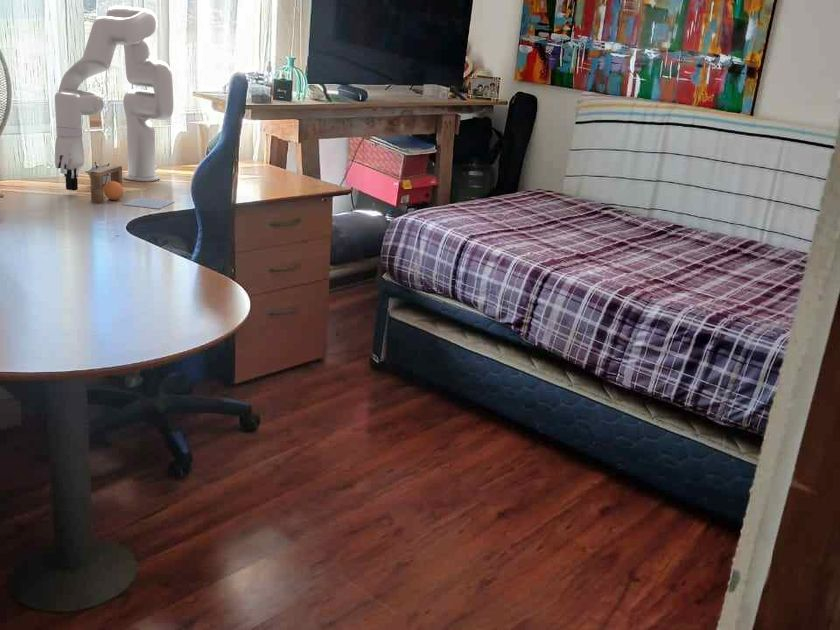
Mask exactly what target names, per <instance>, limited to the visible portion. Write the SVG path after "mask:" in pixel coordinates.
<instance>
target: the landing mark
mask: <svg viewBox="0 0 840 630" xmlns="http://www.w3.org/2000/svg"><path fill="white" fill-rule="evenodd" d="M174 203H175V201H171V200H164V199H162V200H161V199H154V198H147V197H138V198H135V199H133V200H130V201H127V202H125V203H123V204H122V205H123V206H128V205H130V207H136V206H137V208H146V209H153V210H154V209H155V210H160V209H161V210H162V209H163V208H165V207H167V206H170V205H171V204H174ZM122 205H121V206H122Z"/></svg>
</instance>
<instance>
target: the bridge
mask: <svg viewBox="0 0 840 630" xmlns="http://www.w3.org/2000/svg"><path fill="white" fill-rule="evenodd" d="M109 173H111V180H110V182H111V181H115V182H118V183H119V184H121V186H122V187H123V166H122V165H118V164H117V165H116V164H112V165H109V166H108V167H104V168H101V169H97V170H94V171H90V177H89V179H90V201H91V203H94V202H96V204H102V202H103V203H104V191H103V190H104V185H103V175H106V174H109Z"/></svg>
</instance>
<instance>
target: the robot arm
mask: <svg viewBox="0 0 840 630" xmlns="http://www.w3.org/2000/svg"><path fill="white" fill-rule="evenodd" d="M157 28H158V19H157V16H156V14H155V13H154V12H153V11H152V10H150V9H147V8H142V7H134V6H125V5H113V6H110V7H109V8H108V9H107V10H106V13H105V15H104V16H97V17H96V19H94V21H93V23H92V26H91V29H90V32H89V36H88V38H87V39H88V40H87V42H86V45H85V49H84V52H83V55H82V57H81V58H80V59H79V60H77V61H76V62H75V63H73V65H71V66H70V68H69V69H68V70H67V71H66V72H65V73H64V74H63V76H62V78H61V80H60V84H59V87H58V91H57V92H56V93H55V94H54V112H55V127H56V128H55V130H56V138H55V143H54V144H55V146H54V149H55V150H54V165H55V168H56V169H59V170H60V171H59V172H60V174H63V177H64V178H65V189H66V190H68V191H78V190H79V187H78V186H79V185H78V178H79V171H80V170H82V167H83V166H84V163H85V154H84V144H83V123H82V116H89V117H90V116H93V117H94V116H97V115H99V114H101V113H102V112H103V111H104V110H103V109H104V108H105V107H104V106H105V102H104V100H103V98H102V96H100V94H98V93H96V92H93V91H87V90H82V89H79V87H80V86H81V84H82V83H83V82H84V81H85V80H86V79H89V78H90V77H93V76H96V75H98V74H101V73H103V72H106V71H108V70H109V69H110V67H111V64H112V60H113V56H114V53H115V50H116V48H117V46H119V45H120V46H123V49H124V50H123V51H124V62H125V63H124V65H125V76H126V79H127V82H128V83H129V84H130V85H133V86H137V87H143V88H151V89H153V91H151V90H145V89H130V90H128V91H127V92H126V93H125V95H124V96H123V99H122V100H123V102H122V103H123V105H122V106H123V109H124V114H125V118H126V142H127V143H126V146H127V172H125V173H123V179H126V180H129V181H134V182H135V181H136V182H153V181H155V182H156V181H159V180H160V178H161V176H160V175H159V174H157V173H156V171H157V170H158V169H159V166H158V165H157V164H156V133H155V132H156V131H155V127H154V124H153V123H152V121H151V120H159V121H166V120H167V121H168V120H169V119H171V117H172V115H173V112H174V86H173V85H174V84H173V83H174V82H173V73H172V70H171V67H170V66H169V64H168V63H166V62H165V61H164V60H163V61H162V60H158V59H156V60H155V59H152V57H151V50H150V49H151V48H150V42H149V40H148V38H149V37H151V36H152V35H153V34H154V33H155V32H156V30H157ZM158 179H159V180H158Z"/></svg>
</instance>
